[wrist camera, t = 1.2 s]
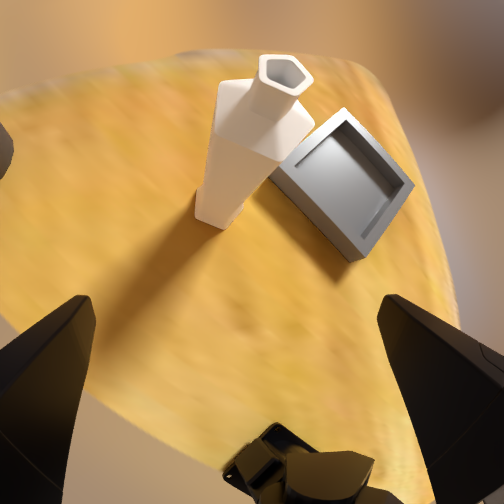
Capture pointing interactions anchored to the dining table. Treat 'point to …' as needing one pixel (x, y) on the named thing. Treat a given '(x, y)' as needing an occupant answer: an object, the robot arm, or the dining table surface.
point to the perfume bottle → (251, 135)
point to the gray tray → (344, 184)
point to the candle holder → (5, 150)
